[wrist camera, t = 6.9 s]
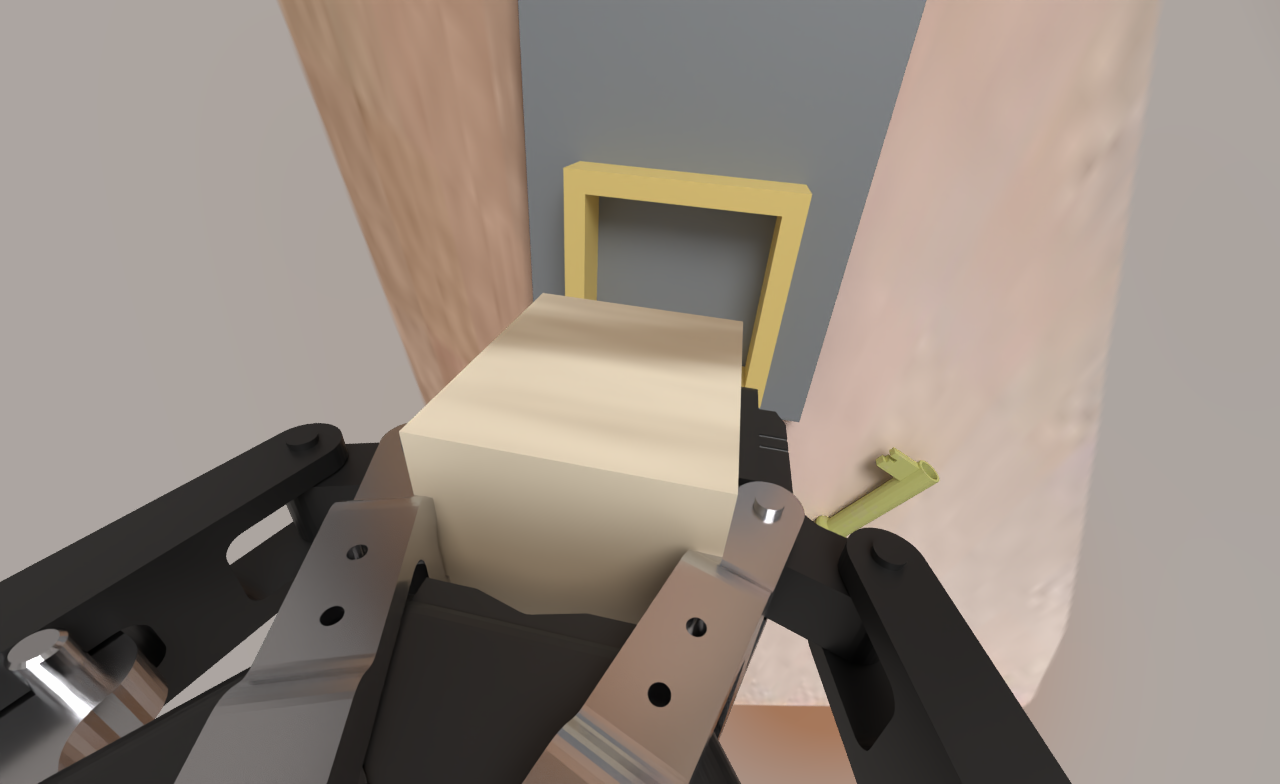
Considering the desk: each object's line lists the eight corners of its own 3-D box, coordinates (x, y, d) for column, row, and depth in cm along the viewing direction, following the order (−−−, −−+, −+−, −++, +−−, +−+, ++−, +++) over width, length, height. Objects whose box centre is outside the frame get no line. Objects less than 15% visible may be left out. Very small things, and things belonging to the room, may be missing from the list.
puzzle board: (516, -306, 14) (464, -394, 11) (1011, -315, 12) (1078, -420, 10) (544, 370, 26) (522, 400, 23) (797, 410, 24) (802, 448, 21)
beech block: (542, 292, 12) (398, 431, 7) (743, 321, 12) (738, 494, 7) (548, 448, 15) (446, 628, 10) (711, 478, 14) (691, 687, 9)
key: (937, 445, 24) (952, 473, 22) (829, 590, 31) (833, 621, 29) (795, 402, 24) (799, 427, 22) (719, 556, 31) (717, 584, 29)
